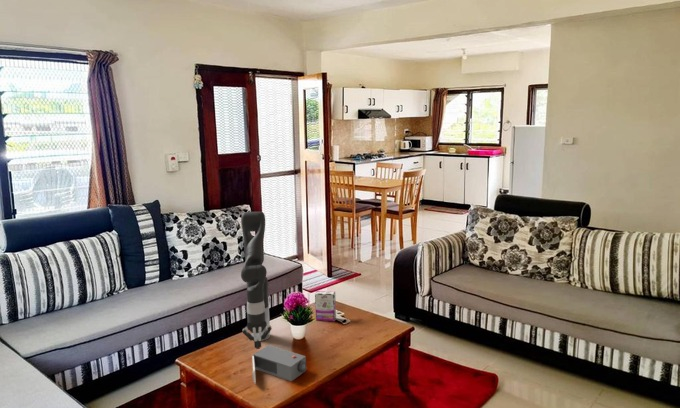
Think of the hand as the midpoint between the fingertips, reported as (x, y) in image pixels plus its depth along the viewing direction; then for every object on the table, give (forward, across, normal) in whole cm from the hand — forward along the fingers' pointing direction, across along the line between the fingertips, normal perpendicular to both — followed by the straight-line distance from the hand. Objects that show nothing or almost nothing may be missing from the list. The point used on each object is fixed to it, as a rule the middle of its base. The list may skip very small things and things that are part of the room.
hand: (258, 348), depth 209 cm
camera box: (+16, +10, +9) cm, 20 cm away
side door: (+15, -2, +5) cm, 16 cm away
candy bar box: (+16, +41, +58) cm, 73 cm away
